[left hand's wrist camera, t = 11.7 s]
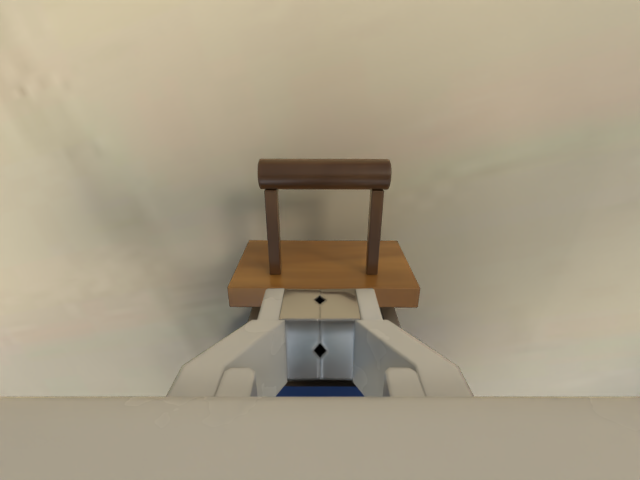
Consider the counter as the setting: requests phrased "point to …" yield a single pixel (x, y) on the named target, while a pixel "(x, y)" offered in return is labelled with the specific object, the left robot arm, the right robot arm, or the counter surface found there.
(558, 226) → the counter surface
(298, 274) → the wooden drawer
